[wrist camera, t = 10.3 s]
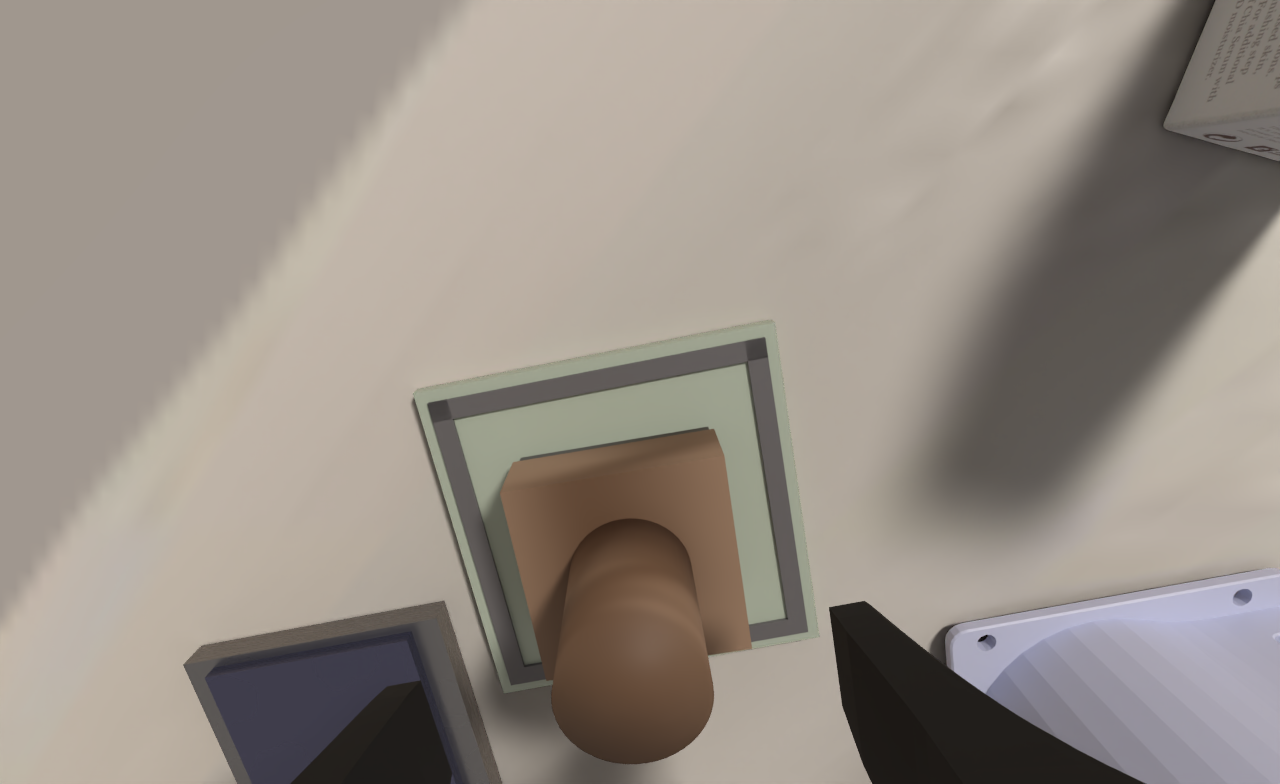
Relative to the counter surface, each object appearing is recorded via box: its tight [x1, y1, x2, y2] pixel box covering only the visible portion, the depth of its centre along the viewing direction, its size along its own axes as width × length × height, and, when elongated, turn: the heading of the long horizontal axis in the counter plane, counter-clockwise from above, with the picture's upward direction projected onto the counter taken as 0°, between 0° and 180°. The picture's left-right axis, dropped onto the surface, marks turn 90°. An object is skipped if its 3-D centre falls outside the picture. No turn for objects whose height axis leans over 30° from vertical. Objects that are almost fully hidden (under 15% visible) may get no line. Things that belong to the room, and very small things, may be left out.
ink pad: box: [184, 601, 502, 784], centre depth 19 cm, size 7×7×1 cm
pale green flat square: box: [413, 320, 819, 694], centre depth 18 cm, size 9×9×1 cm
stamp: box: [500, 427, 752, 764], centre depth 15 cm, size 5×5×6 cm
